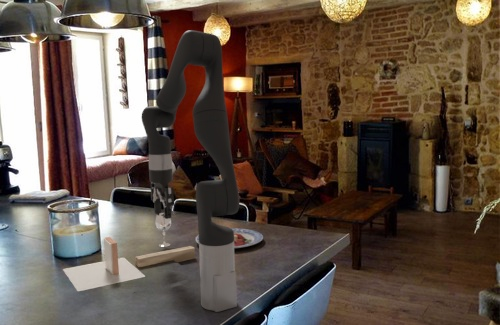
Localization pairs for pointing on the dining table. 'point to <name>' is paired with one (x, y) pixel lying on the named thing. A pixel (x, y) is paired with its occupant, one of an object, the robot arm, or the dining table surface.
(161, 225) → the wineglass
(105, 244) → the tile
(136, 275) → the white panel
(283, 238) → the dining table surface
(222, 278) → the robot arm
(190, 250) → the oak stick
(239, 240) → the ceramic plate
